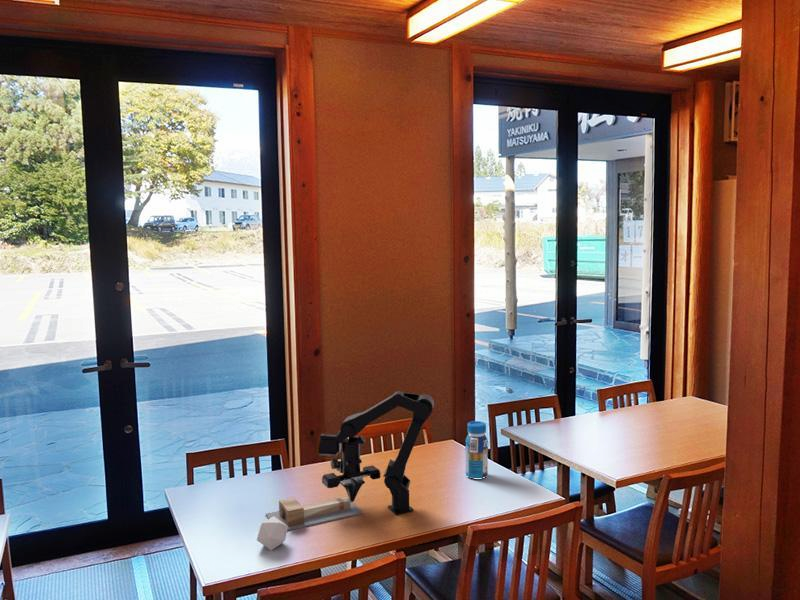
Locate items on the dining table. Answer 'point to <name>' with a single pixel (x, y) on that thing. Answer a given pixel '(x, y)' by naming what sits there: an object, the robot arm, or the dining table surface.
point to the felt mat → (321, 516)
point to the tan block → (291, 511)
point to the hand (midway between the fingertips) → (351, 501)
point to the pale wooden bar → (326, 507)
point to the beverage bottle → (476, 450)
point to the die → (272, 533)
